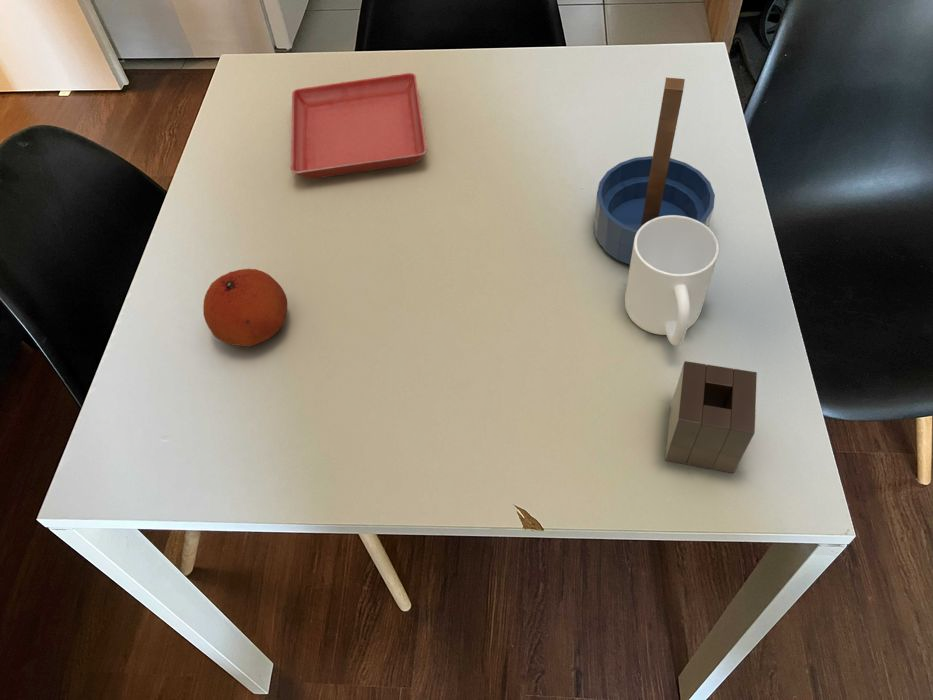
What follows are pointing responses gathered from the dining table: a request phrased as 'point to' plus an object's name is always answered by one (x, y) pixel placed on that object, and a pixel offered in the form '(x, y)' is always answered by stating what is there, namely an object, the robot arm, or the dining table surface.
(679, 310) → the cup
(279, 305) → the fruit
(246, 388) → the dining table surface
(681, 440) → the stand
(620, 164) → the bowl
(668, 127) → the stick
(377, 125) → the plant saucer
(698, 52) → the dining table surface
